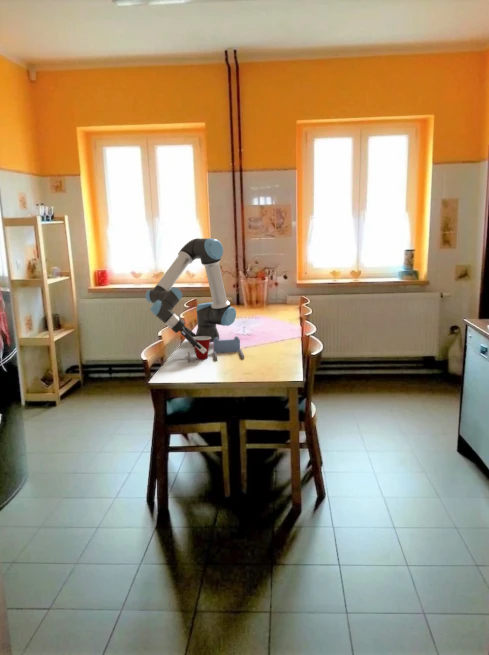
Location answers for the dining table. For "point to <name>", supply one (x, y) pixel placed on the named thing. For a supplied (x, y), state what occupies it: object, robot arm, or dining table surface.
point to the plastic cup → (205, 343)
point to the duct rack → (225, 347)
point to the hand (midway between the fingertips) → (204, 348)
